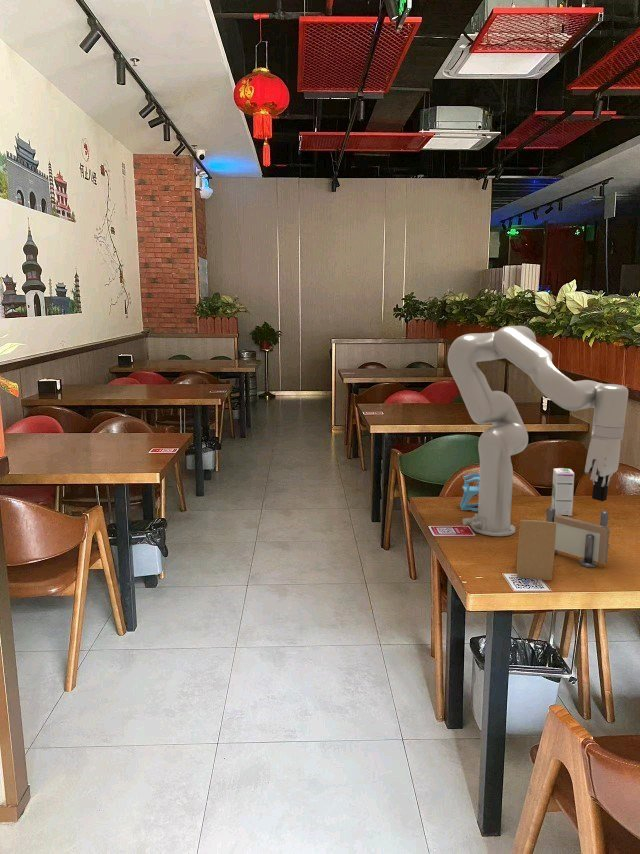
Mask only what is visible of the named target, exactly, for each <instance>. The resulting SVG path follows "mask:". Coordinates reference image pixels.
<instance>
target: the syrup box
mask: <svg viewBox="0 0 640 854" xmlns="http://www.w3.org/2000/svg"><path fill="white" fill-rule="evenodd" d="M574 483H575V472H574V471H573V470H572V469H571V468H565V467H558V468H553V473H552V490H551V507H550V508H554V509H556V512H555V516H556V515H568V516H567V517H572V516H573V505H574V488H575V487H574V486H575V484H574Z"/></svg>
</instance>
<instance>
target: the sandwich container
mask: <svg viewBox="0 0 640 854" xmlns="http://www.w3.org/2000/svg"><path fill="white" fill-rule="evenodd" d="M518 528H519V530H518V544H517V553H516V554H517V556H516V575H517V577H518V578H523V579H524V578H525V579H526V578H527V579H534V580H544V581H550V580H551V581H552V580H553V572H554V562H555V554H554V552H555V538H556V523H555V522H546V520H535V519H534V520H532V519H530V520H529V519H520V520H519V527H518Z"/></svg>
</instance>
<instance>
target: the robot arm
mask: <svg viewBox="0 0 640 854" xmlns="http://www.w3.org/2000/svg"><path fill="white" fill-rule="evenodd" d="M501 359H506V360H507V361H509V362H510V363H511V364H513V365H515V367H517V368H518V369H519V370H521V371H522V372H523V373H525V374H526V375H528V377H530V378H531V381H532V382H533V384H534V385H535V386H536V388H537V389H538V390H539V391H540V392H541V393H542V395H544V396H545V397H546V398H547V399H549V400H550V401H552V402H553V403H554V404H556V405H557V406H558V407H560V408H562V409H564V410H566V411H570V412H577V411H580V410H586V409H591V408H592V409H593V408H594V411H593V418H592V427H591V433H590V434H591V439H590V441H589V446H588V450H587V455H586V460H585V466H584V473H585V474H587V475H588V474H590V479H589V480H590V481H592V484H593V487H592V495H591V496H592V497H591V498H592V500H595V501H600V502H605V501H607V499H608V498H607V497H608V490H609V485H610V480H611V477H612V476H613V475H614V474H615V473H616V472H617V471H618V469H619V465H620V457H621V456H620V455H621V443H622V441H623V438H624V432H625V431H624V430H625V423H626V415H627V407H628V399H629V389H628V388H627V386H625V385H622V384H615V383H602V382H597V381H595V380H590V379H584V380H583V379H582V380H576V381H574V380H572V379H570V378H569V377H568V376H566V375H565V374H564V373H563V372H561V371H560V370H559V369H558V368H557V367H556V366H555V365H554V363H553V354H552V352H551V351H550V350H548V348H546V347H544V346H543V345H542V344H541V343H538V342H537V338H536V334H535V332H534V331H533V330H532V329H531V328H529V327H527V326H524V325H508V326H502V327H501V328H499V329H498V330H497V331H492V332H482V333H474V332H473V333H466V334H463V335H461V336H458V337H457V338H455V340H454V341H452V343H451V345H450V347H449V349H448V353H447V365H448V369H449V372H450V374H451V376H452V378H453V380H454V382H455V384H456V387H457V388H458V390H459V393H460V396H461V398H462V400H463V402H464V403H463V404H465V407H466V410H467V412H468V414H469V416H470V418H471V420H472V421H473V423H475V424H478V425H479V426H481V425H482V426H483V425H484V426H485V425H491V424H492V425H491V426H492V427H489V428H487V429H485V430H484V431H483V432H482V433H481V435H480V436H479V438H478V443H477V447H478V448H477V449H478V456H479V474H480V483H479V494H478V506H477V508H478V512H477V513H474V516H472V517H471V518H470V517H467V518H465V517H464V518H462V525H463V526H466V525H470V526H471V529H472V530H473V531H474V532H476V533H479V534H481V535H483V536H484V535H485V536H491V537H507V536H511V535H513V534H516V527H515V526H514V524H511V514H512V513H511V512H512V501H513V500H512V496H513V481H514V480H513V479H514V470H513V469H514V468H513V464H512V459H511V458H512V457H511V456H514V455H517V454H519V453H522V452H523V451H524V450H525V449H526V448H527V446H528V444H529V433H528V430H527V428H526V426H525V424H524V422H523V419H522V416H521V414H520V413H519V410H518V408H517V406H516V404H515V402H514V400H513V399H512V398H511V396H510V395H508V394H507V393H506V392H503V391H501V390H492V389H491V387H490V385H489V382H488V380H487V378H486V376H485V374H484V373H483V372H482V370H481V369H480V368H479V367H478V365H477V363H478V362H479V363H480V362H489V361H494V360H495V361H496V360H501Z"/></svg>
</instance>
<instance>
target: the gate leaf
mask: <svg viewBox="0 0 640 854" xmlns="http://www.w3.org/2000/svg"><path fill="white" fill-rule="evenodd" d="M554 522H555V523H556V538H555V550H558V552H559V551H560V552H561V553H566V554H569V555H573V556H576V557H578V558H582V559H584V553H585V541H586V535H587V534H590V535H594V546H593V558H592V561H595V562H596V563H598V564H599V563H600V564H602V565H605V564H607V562H608V553H609V548H608V543H609V540H610V533H611V527H610V526H608V527H606V526H602V525H600V524H597V523H593V522H590V521H586V520H581V519H579V518H573V517H571V516H561V515H555V516H554Z"/></svg>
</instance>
